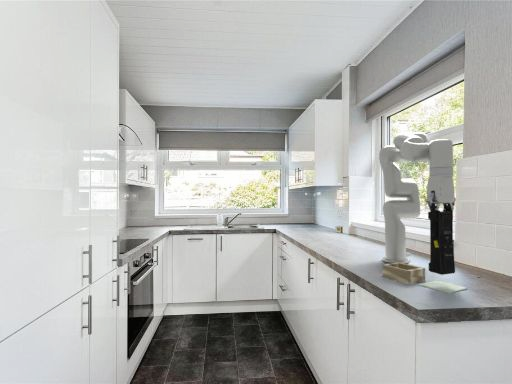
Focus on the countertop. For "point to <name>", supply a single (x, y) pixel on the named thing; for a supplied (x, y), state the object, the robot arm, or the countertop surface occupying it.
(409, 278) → the wooden pocket
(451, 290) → the rubber mat
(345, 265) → the countertop surface
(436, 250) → the portable radio
